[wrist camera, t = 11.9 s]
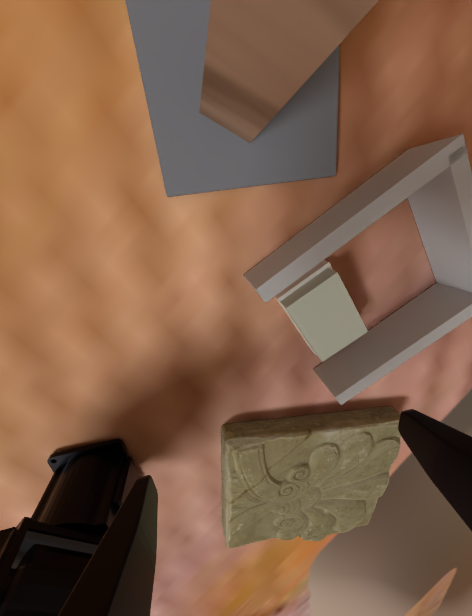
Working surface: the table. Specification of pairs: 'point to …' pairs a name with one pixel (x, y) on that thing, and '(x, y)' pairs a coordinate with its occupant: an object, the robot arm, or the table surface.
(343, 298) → the offcut
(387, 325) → the rack
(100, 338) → the table surface
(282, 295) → the offcut
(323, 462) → the decorative tile
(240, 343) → the table surface
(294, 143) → the mat
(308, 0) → the brown rectangular block
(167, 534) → the table surface
